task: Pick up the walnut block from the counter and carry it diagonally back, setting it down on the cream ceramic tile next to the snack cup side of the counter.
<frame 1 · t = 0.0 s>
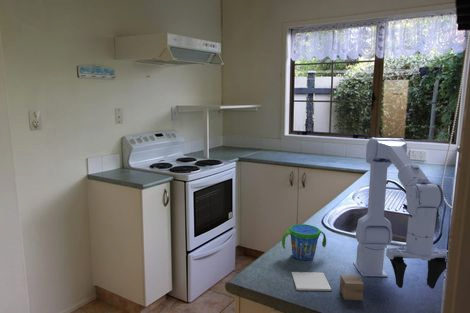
hand: (414, 286, 90), 10 cm above the worktop, tool pointing down, fingers open, 7 cm apart
snack cup: (303, 257, 129), on the worktop
cream tile: (310, 281, 111), on the worktop
walnut block: (350, 295, 104), on the worktop
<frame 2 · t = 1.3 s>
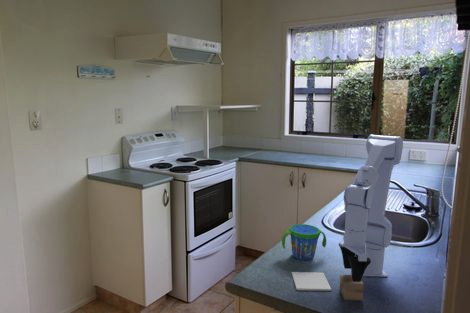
hand: (352, 274, 103), 6 cm above the worktop, tool pointing down, fingers open, 7 cm apart
nothing on the worktop moved.
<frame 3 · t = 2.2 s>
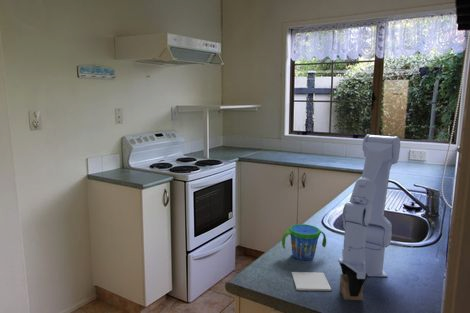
hand: (350, 290, 104), 1 cm above the worktop, tool pointing down, fingers closed on walnut block, 5 cm apart
walnut block: (350, 295, 104), on the worktop, touching gripper
everything else where it was.
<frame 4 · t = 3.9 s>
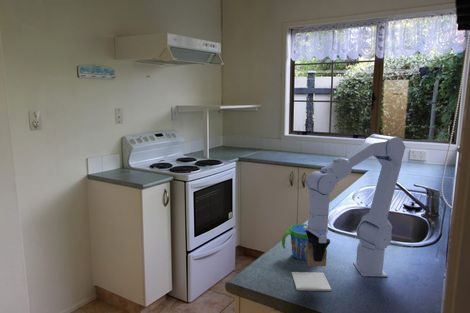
hand: (315, 256, 109), 8 cm above the worktop, tool pointing down, fingers closed on walnut block, 5 cm apart
walnut block: (315, 262, 109), point 7 cm above the worktop, touching gripper
everything else where it was.
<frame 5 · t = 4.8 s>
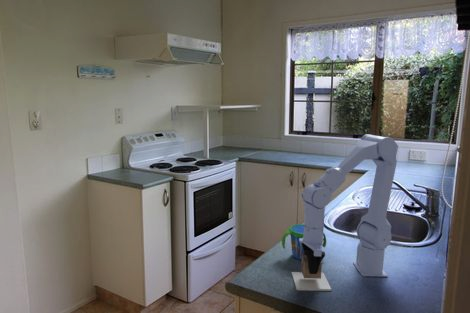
hand: (311, 268, 110), 4 cm above the worktop, tool pointing down, fingers closed on walnut block, 5 cm apart
walnut block: (310, 274, 111), point 2 cm above the worktop, touching gripper
everything else where it was.
when the fingers open (4 cm above the worktop, at t = 5.5 s): walnut block drops 1 cm, resting on cream tile.
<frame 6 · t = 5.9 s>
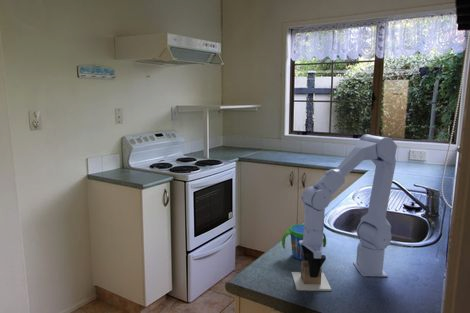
hand: (311, 270, 110), 4 cm above the worktop, tool pointing down, fingers open, 7 cm apart
walnut block: (310, 280, 111), point 1 cm above the worktop, touching cream tile
everything else where it was.
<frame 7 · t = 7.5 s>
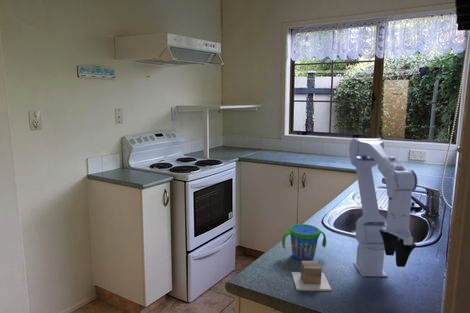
hand: (394, 260, 103), 10 cm above the worktop, tool pointing down, fingers open, 7 cm apart
nothing on the worktop moved.
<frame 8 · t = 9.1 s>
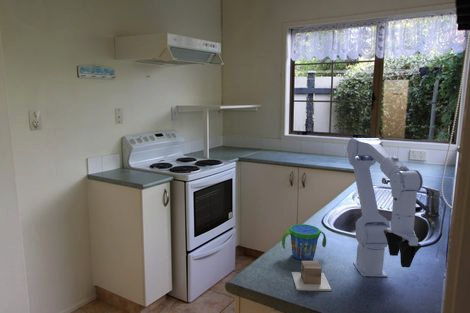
hand: (399, 260, 103), 10 cm above the worktop, tool pointing down, fingers open, 7 cm apart
nothing on the worktop moved.
at the end: walnut block inside the target area on the cream tile (0.1 cm from its centre), point 0.6 cm above the cream tile's base; walnut block tilted 0°; the gripper is holding nothing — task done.
